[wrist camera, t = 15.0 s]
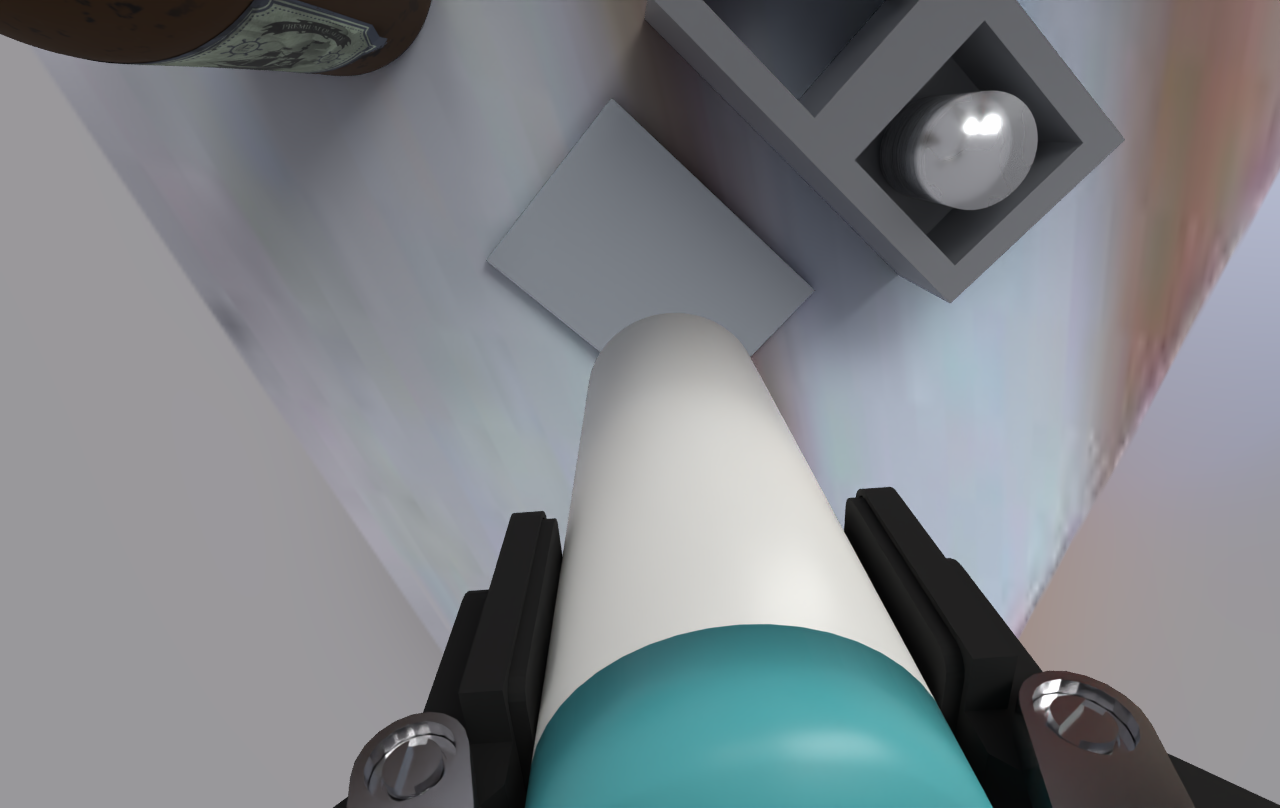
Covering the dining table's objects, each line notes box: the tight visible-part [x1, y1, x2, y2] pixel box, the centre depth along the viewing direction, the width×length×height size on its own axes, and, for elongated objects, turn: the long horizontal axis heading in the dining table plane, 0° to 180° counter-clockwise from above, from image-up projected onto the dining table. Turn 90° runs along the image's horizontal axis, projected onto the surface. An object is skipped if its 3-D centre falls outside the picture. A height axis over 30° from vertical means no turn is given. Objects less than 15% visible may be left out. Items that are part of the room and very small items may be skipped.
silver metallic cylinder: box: [880, 91, 1038, 210], centre depth 28 cm, size 4×4×5 cm
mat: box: [486, 98, 815, 357], centre depth 34 cm, size 14×10×1 cm
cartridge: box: [525, 313, 993, 808], centre depth 13 cm, size 5×5×14 cm
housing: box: [644, 0, 1125, 303], centre depth 28 cm, size 18×9×6 cm, turn 49°
